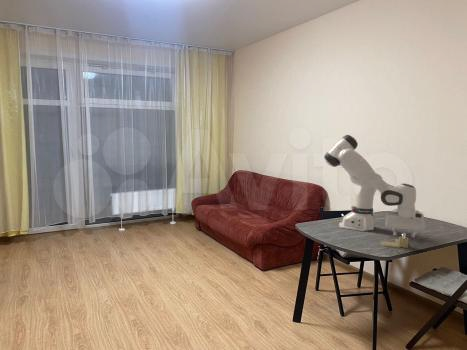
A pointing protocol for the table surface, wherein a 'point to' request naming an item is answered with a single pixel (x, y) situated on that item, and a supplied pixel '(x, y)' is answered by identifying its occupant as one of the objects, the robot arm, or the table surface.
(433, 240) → the table surface
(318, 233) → the table surface
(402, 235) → the pin
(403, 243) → the hinge leaves
